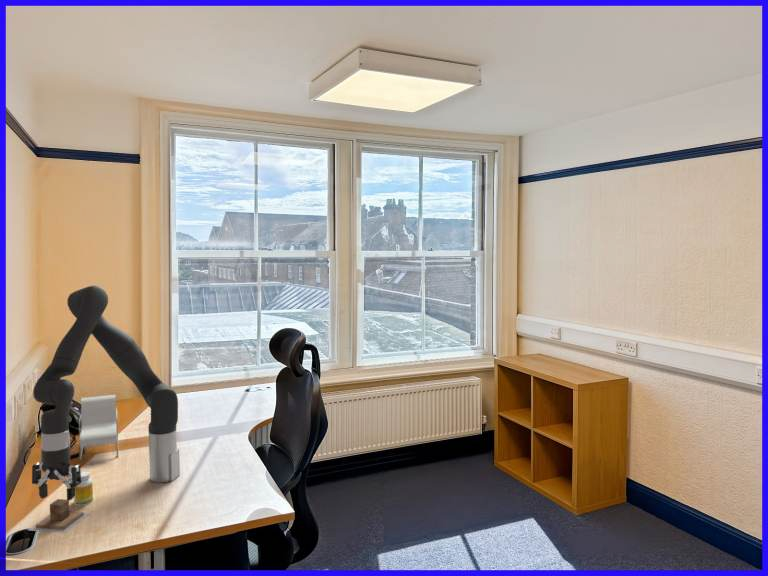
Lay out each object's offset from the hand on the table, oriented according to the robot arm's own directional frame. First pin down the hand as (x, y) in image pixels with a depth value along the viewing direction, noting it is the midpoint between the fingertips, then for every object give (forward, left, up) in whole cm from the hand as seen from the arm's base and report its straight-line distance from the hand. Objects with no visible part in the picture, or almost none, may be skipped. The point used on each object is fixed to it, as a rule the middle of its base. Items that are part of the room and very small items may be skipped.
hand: (57, 498), depth 175 cm
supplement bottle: (0, -13, -8) cm, 15 cm away
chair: (+23, -58, -8) cm, 62 cm away
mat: (-1, 0, -8) cm, 8 cm away
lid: (-1, 0, -7) cm, 7 cm away
